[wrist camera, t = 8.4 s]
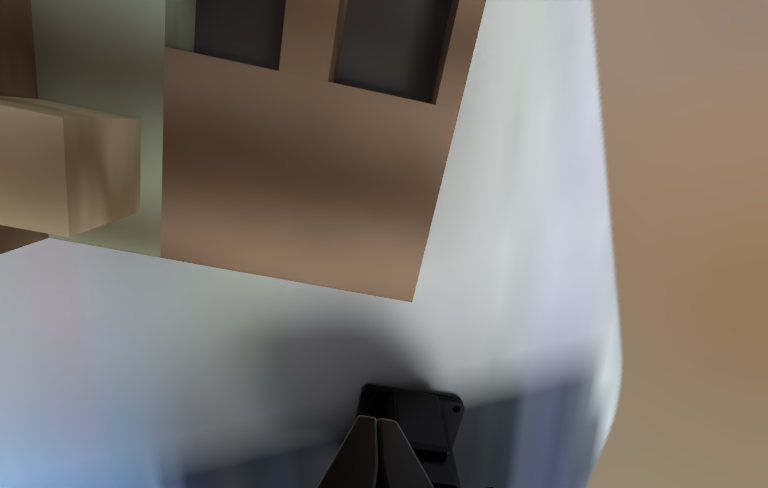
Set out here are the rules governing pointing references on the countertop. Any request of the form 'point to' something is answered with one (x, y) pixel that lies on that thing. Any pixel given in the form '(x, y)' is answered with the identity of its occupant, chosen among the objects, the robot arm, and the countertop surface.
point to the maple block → (66, 166)
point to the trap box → (262, 125)
